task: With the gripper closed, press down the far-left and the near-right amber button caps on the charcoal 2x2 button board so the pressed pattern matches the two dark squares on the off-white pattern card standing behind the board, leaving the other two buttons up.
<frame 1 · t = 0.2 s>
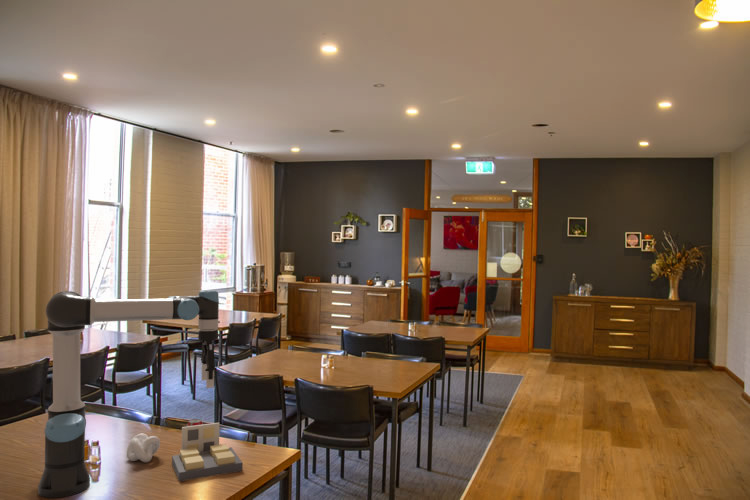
hand: (207, 383, 222), 28 cm above the table, fingers open, 13 cm apart
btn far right: (219, 451, 215), point 4 cm above the table, slide at 0.0 cm
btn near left: (193, 463, 202), point 4 cm above the table, slide at 0.0 cm
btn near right: (224, 458, 207), point 4 cm above the table, slide at 0.0 cm
button board: (206, 467, 208), on the table
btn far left: (189, 455, 210), point 4 cm above the table, slide at 0.0 cm
white knot: (140, 460, 215), on the table
beverage can: (194, 451, 225), on the table
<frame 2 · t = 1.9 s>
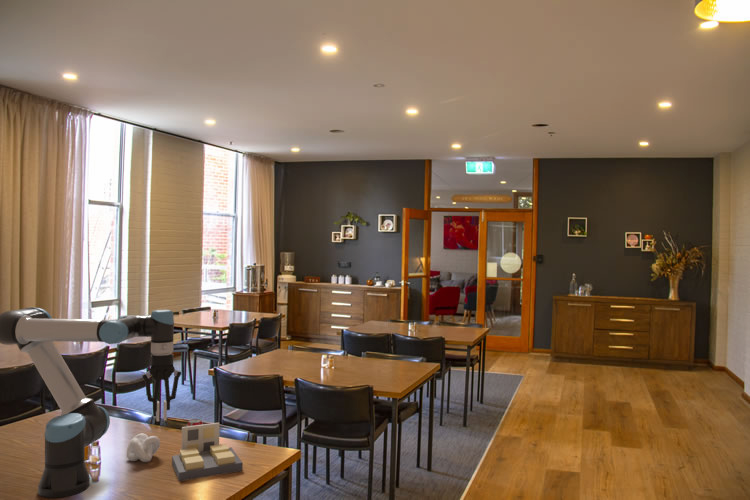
hand: (161, 419, 201), 19 cm above the table, fingers closed
nothing on the table moved.
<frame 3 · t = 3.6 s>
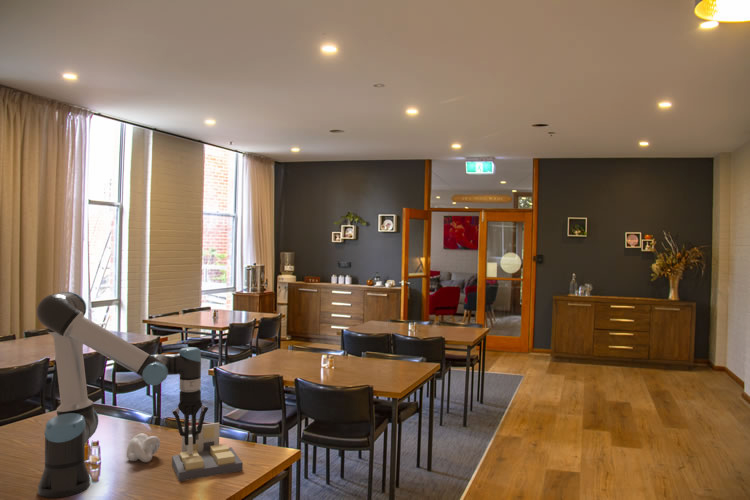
hand: (190, 453, 210), 5 cm above the table, fingers closed
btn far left: (189, 458, 210), point 3 cm above the table, slide at 0.9 cm, touching gripper
everything else where it was.
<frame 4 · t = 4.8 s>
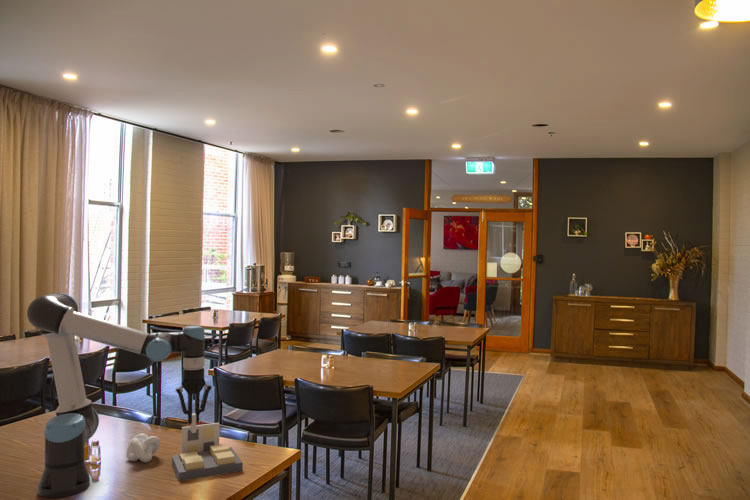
hand: (193, 431, 210), 13 cm above the table, fingers closed
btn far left: (189, 459, 210), point 2 cm above the table, slide at 1.4 cm
everything else where it was.
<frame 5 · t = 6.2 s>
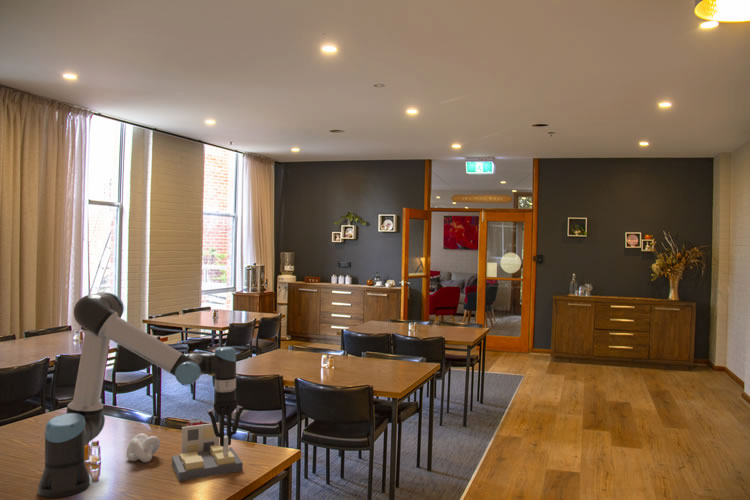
hand: (225, 454, 207), 5 cm above the table, fingers closed
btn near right: (224, 459, 207), point 4 cm above the table, slide at 0.1 cm, touching gripper
everything else where it was.
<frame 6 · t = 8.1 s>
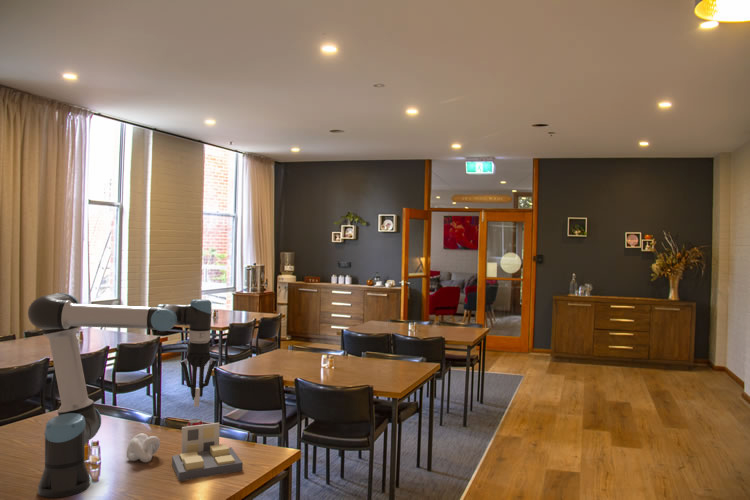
hand: (196, 405, 208), 23 cm above the table, fingers closed
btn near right: (224, 462, 207), point 2 cm above the table, slide at 1.4 cm
everything else where it was.
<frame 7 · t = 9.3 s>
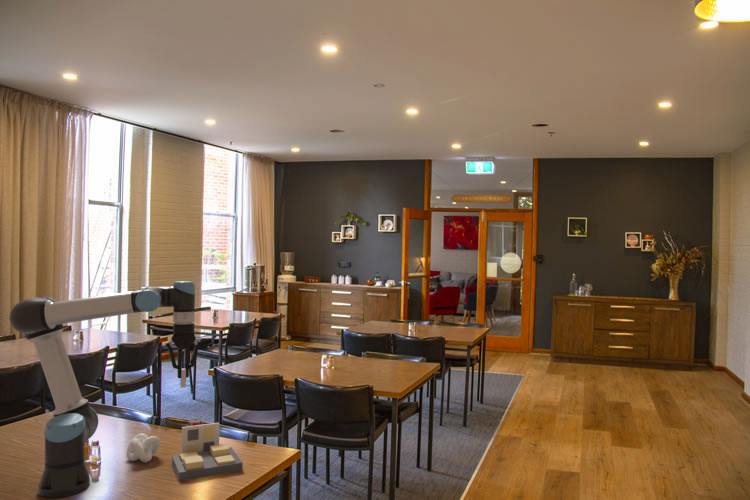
hand: (183, 386, 209), 29 cm above the table, fingers closed
nothing on the table moved.
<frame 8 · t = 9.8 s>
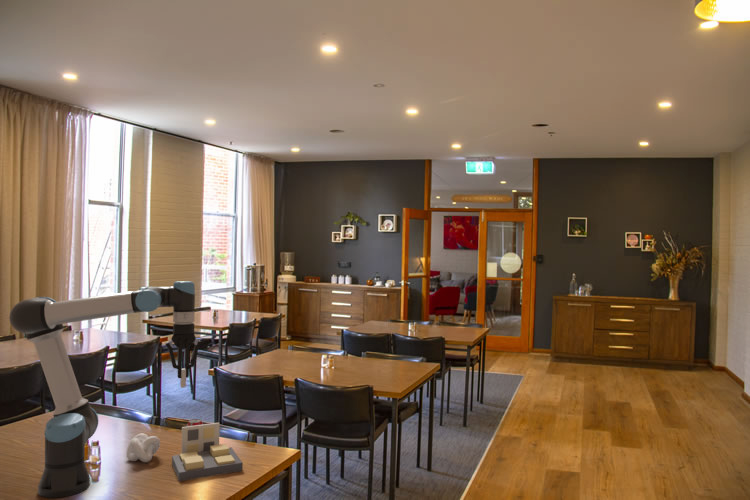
hand: (183, 386, 209), 29 cm above the table, fingers closed
nothing on the table moved.
at the end: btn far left slide at 1.4 cm; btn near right slide at 1.4 cm; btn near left slide at 0.0 cm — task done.
